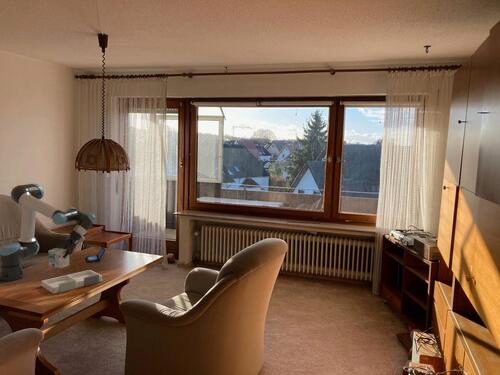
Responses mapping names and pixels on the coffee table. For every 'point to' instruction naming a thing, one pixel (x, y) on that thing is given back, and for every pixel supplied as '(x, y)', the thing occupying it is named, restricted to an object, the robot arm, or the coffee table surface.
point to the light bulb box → (54, 257)
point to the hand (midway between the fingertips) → (55, 260)
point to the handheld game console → (96, 256)
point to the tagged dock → (72, 281)
